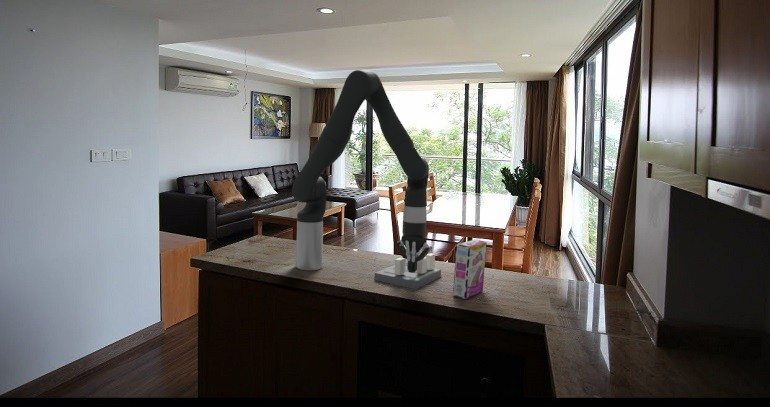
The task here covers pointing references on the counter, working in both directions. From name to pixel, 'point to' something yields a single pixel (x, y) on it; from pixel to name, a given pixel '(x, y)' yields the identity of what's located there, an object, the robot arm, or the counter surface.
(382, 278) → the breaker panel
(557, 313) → the counter surface
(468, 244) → the candy bar box
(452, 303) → the counter surface
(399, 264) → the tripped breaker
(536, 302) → the counter surface
